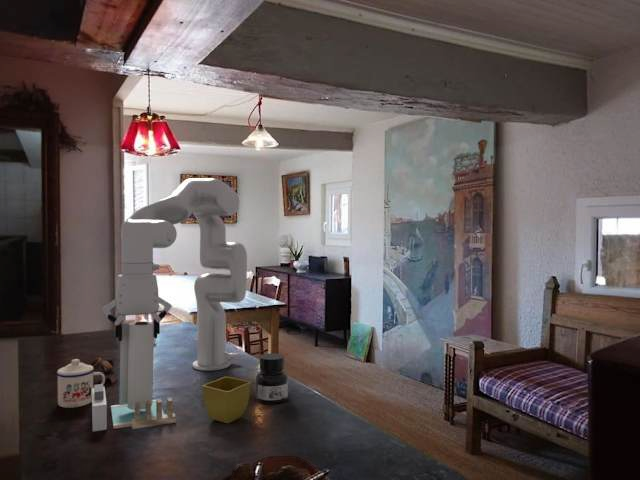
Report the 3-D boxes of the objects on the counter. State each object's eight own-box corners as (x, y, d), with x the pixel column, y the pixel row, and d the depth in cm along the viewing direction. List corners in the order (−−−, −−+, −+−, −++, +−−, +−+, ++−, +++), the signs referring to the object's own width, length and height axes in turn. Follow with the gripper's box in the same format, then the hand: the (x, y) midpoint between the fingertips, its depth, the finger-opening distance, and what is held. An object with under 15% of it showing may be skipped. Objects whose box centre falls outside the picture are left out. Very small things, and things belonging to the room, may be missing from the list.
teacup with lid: (60, 411, 129) (59, 366, 129) (54, 401, 137) (53, 358, 136) (109, 401, 137) (109, 359, 136) (100, 392, 144) (100, 352, 144)
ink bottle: (256, 406, 134) (256, 361, 134) (252, 395, 143) (252, 353, 142) (292, 403, 137) (292, 359, 136) (285, 392, 145) (285, 351, 145)
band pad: (158, 401, 137) (158, 399, 137) (166, 420, 124) (166, 417, 124) (110, 408, 132) (110, 405, 132) (113, 428, 119) (113, 425, 119)
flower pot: (228, 428, 119) (228, 391, 119) (201, 421, 124) (201, 384, 124) (251, 417, 127) (252, 381, 126) (225, 410, 131) (226, 375, 131)
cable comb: (174, 418, 125) (174, 397, 125) (175, 422, 123) (175, 400, 123) (131, 425, 121) (131, 402, 120) (132, 429, 118) (132, 406, 118)
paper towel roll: (157, 405, 128) (159, 322, 128) (137, 412, 123) (139, 326, 123) (139, 399, 132) (140, 319, 132) (119, 406, 127) (120, 322, 127)
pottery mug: (111, 388, 149) (96, 366, 147) (85, 400, 151) (69, 378, 149) (127, 367, 161) (113, 346, 159) (103, 378, 162) (88, 358, 160)
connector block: (104, 409, 131) (104, 379, 131) (106, 429, 118) (106, 395, 118) (92, 411, 130) (91, 380, 129) (92, 431, 117) (92, 397, 117)
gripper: (170, 267, 134) (170, 332, 134) (99, 269, 126) (99, 338, 127) (175, 269, 127) (175, 338, 127) (100, 272, 119) (100, 345, 120)
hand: (137, 338), depth 127 cm, fingers closed on paper towel roll, 7 cm apart
